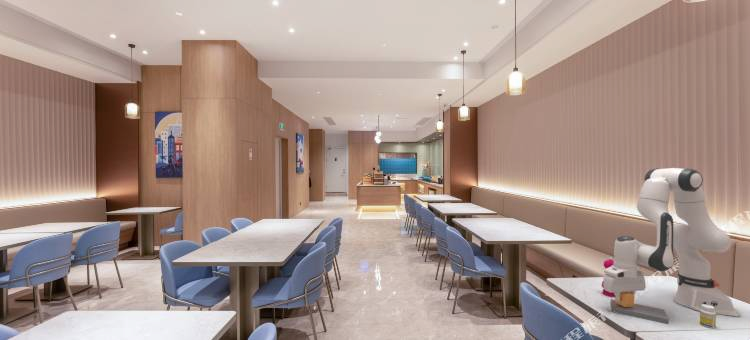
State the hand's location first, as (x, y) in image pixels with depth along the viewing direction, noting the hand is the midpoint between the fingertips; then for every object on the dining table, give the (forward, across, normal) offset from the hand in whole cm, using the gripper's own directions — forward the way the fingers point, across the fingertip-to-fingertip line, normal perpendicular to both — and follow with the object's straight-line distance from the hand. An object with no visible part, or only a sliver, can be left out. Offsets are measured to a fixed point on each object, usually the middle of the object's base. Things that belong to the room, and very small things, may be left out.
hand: (624, 300), depth 153 cm
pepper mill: (+5, -10, -17) cm, 20 cm away
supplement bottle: (+5, -22, +19) cm, 29 cm away
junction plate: (+5, -4, +4) cm, 7 cm away
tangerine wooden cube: (+2, 0, 0) cm, 2 cm away
